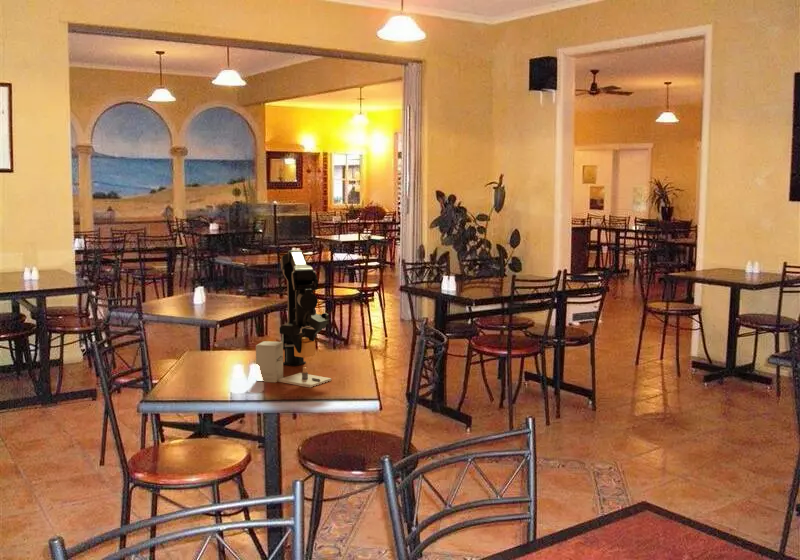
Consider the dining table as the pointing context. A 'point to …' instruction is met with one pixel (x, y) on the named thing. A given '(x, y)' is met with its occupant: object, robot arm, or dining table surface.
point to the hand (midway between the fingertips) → (304, 351)
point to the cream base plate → (304, 379)
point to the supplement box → (270, 360)
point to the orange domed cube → (306, 348)
